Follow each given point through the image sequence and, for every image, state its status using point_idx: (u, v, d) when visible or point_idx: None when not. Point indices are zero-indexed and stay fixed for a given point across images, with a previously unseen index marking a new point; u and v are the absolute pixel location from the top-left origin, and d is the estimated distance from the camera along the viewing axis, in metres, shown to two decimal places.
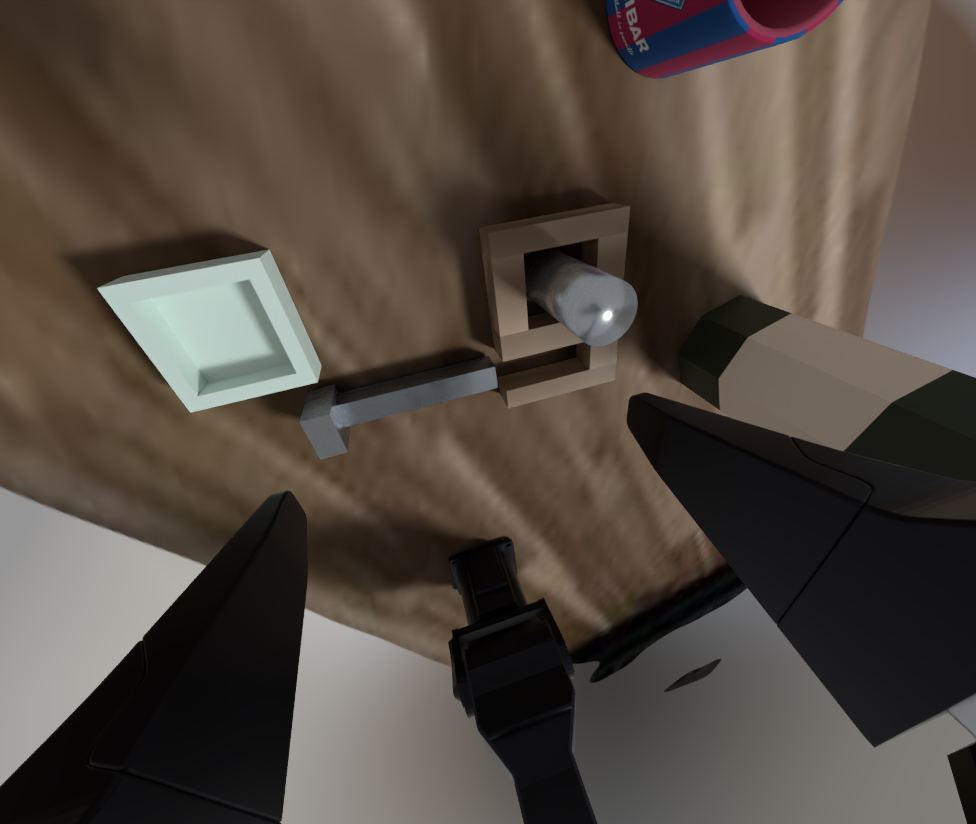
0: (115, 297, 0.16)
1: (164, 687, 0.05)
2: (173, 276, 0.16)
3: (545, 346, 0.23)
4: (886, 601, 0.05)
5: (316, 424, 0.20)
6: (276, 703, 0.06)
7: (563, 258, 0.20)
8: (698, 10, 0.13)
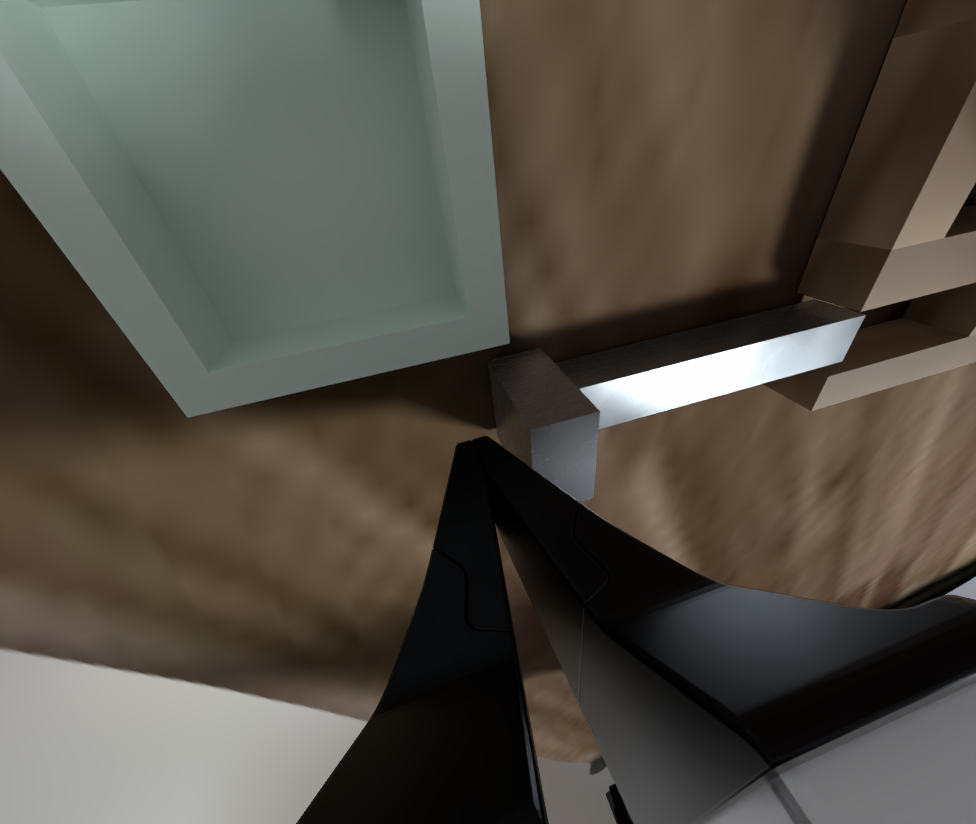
0: None
1: (495, 577, 0.05)
2: None
3: (943, 280, 0.11)
4: (618, 711, 0.05)
5: (561, 437, 0.08)
6: None
7: None
8: None
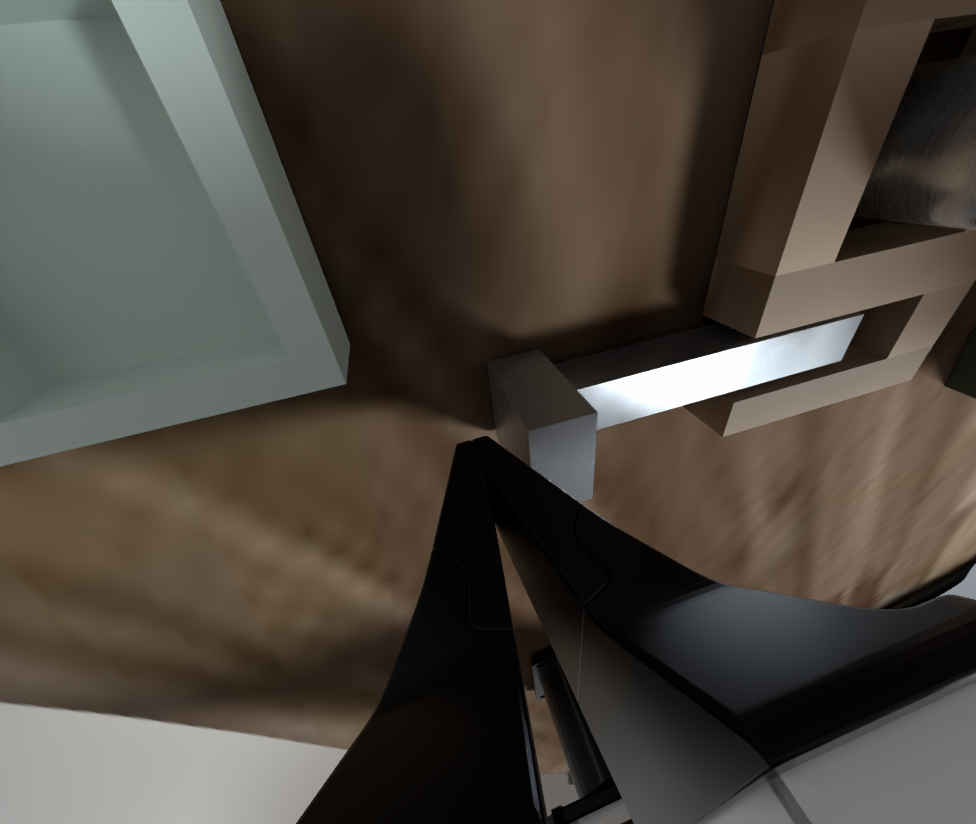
0: None
1: (494, 577, 0.05)
2: None
3: (844, 304, 0.10)
4: (618, 710, 0.05)
5: (559, 437, 0.08)
6: None
7: None
8: None
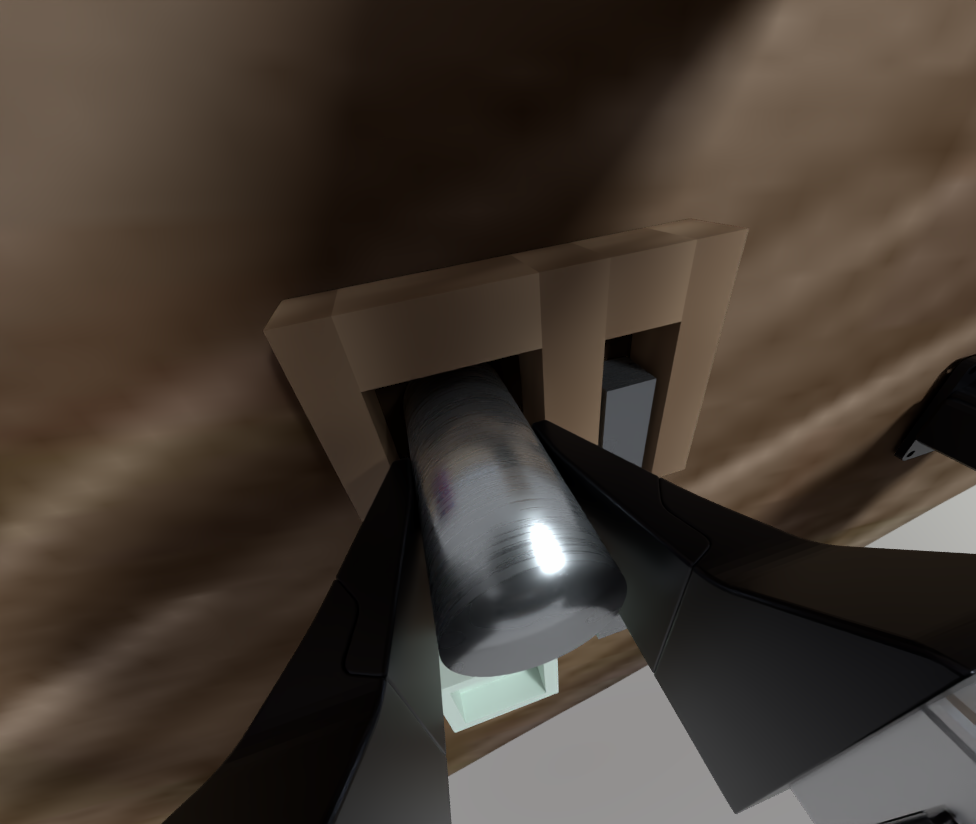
0: (461, 727, 0.21)
1: (385, 613, 0.05)
2: (447, 716, 0.20)
3: (588, 437, 0.11)
4: (721, 668, 0.05)
5: (608, 628, 0.15)
6: (432, 648, 0.07)
7: None
8: None
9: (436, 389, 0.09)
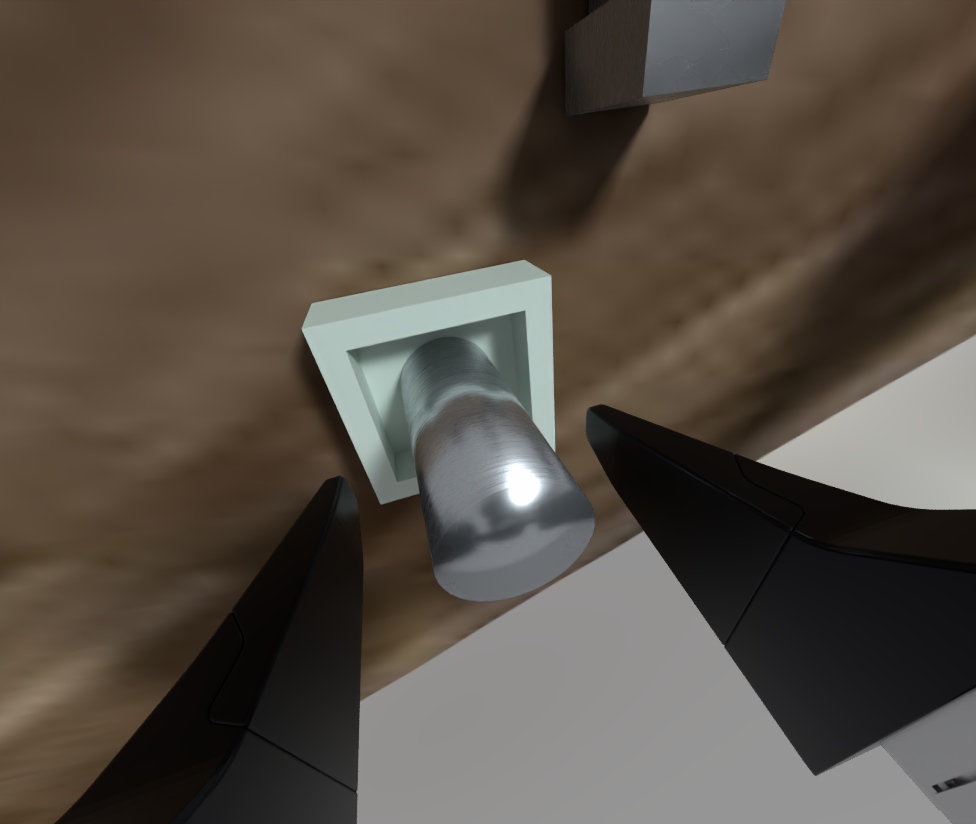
0: (391, 492, 0.13)
1: (267, 653, 0.05)
2: (355, 439, 0.11)
3: None
4: (816, 630, 0.05)
5: (668, 42, 0.07)
6: (347, 678, 0.07)
7: None
8: None
9: (430, 364, 0.10)
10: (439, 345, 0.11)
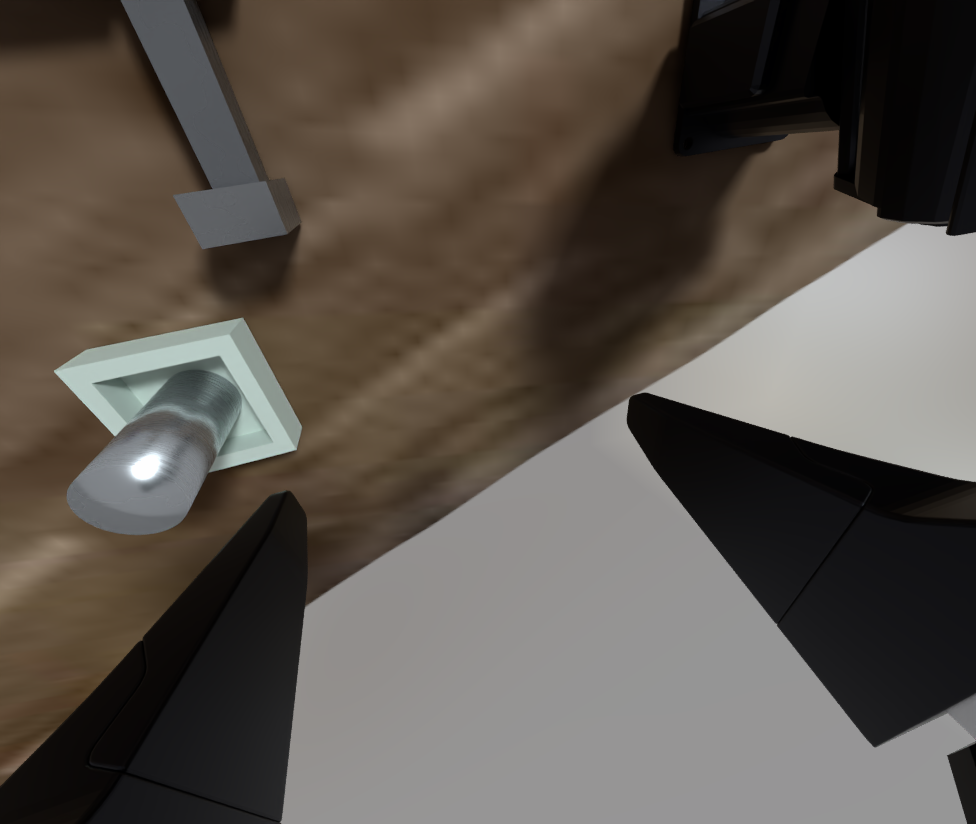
0: None
1: (164, 687, 0.05)
2: None
3: None
4: (885, 601, 0.05)
5: (203, 224, 0.12)
6: (276, 703, 0.06)
7: None
8: None
9: (158, 391, 0.16)
10: (178, 376, 0.17)
